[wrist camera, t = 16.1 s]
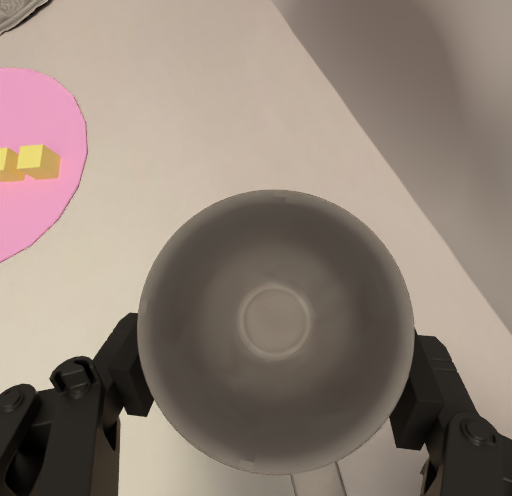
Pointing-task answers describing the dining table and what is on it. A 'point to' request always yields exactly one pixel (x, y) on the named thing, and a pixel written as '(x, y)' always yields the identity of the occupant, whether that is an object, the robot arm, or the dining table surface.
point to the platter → (36, 155)
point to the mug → (276, 335)
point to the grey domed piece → (16, 12)
